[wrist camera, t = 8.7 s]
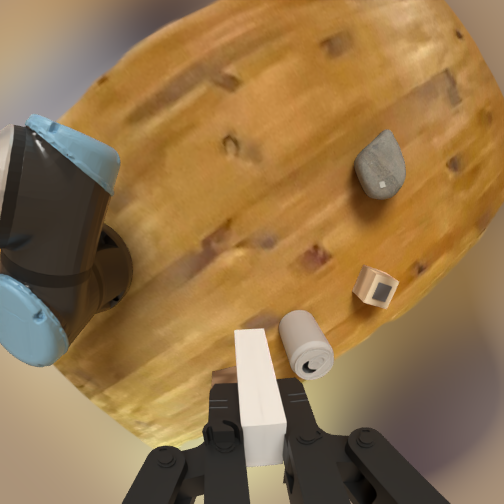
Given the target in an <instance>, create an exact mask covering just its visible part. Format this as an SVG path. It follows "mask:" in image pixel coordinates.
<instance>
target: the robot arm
mask: <svg viewBox="0 0 504 504" xmlns="http://www.w3.org/2000/svg"><path fill="white" fill-rule="evenodd" d="M25 125H26V127H21V126H16V125H12V124H9V125H8V126H6V127H5V128H4V129H2V130H1V131H0V249H1V253H0V343H1V345H2V346H3V347H4V348H5V349H6V350H7V351H8V352H9V353H10V354H12V355H13V356H14V357H16V358H17V359H19V360H20V361H22V362H24V363H26V364H28V365H31V366H35V367H44V366H50V365H52V364H53V363H55V362H56V361H57V360H58V359H59V358H60V357H61V356H62V355H64V354H65V353H66V352H67V350H68V347H69V346H70V345H71V343H72V342H73V341H74V339H75V338H76V337H77V336H78V334H79V333H80V332H81V331H82V329H83V328H84V327H85V325H86V324H87V323H88V322H89V320H90V319H91V318H92V317H93V316H94V314H97V313H100V312H103V311H106V310H108V309H111V308H112V307H114V306H115V305H116V304H118V303H119V302H120V301H121V299H122V298H123V297H124V295H125V294H126V293H127V291H128V289H129V287H130V284H131V281H132V273H133V269H132V260H131V256H130V253H129V251H128V248H127V246H126V244H125V243H124V241H123V240H122V238H121V237H120V236H119V235H118V234H117V233H116V232H115V231H114V230H113V229H112V228H110V227H109V226H107V225H105V224H103V223H104V219H105V216H106V212H107V209H108V205H109V202H110V199H111V196H112V197H113V195H114V190H113V189H114V185H115V182H116V178H117V175H118V172H119V168H120V157H119V155H118V153H117V152H116V150H115V149H113V148H112V147H110V146H108V145H106V144H104V143H102V142H100V141H98V140H96V139H94V138H91V137H89V136H87V135H85V134H83V133H80V132H78V131H76V130H74V129H71V128H69V127H67V126H64V125H61V124H59V123H57V122H54V121H52V120H50V119H48V118H45V117H43V116H40V115H37V114H32V115H31V116H30V117H29V119H28V120H26V123H25ZM234 332H235V350H236V368H237V383H218V384H214V386H213V387H212V389H211V390H210V397H209V420H208V423H207V424H206V425H205V426H204V428H203V431H202V432H203V437H204V442H203V443H202V444H201V445H199V446H198V447H196V448H192V449H188V450H184V451H180V450H179V449H178V448H175V447H173V446H161V447H157V448H155V449H153V450H152V451H151V452H150V453H149V455H148V456H147V458H146V460H145V462H144V464H143V466H142V467H141V469H140V471H139V473H138V475H137V476H136V478H135V480H134V482H133V484H132V486H131V488H130V489H129V491H128V493H127V495H126V497H125V498H124V500H123V502H122V504H194V502H195V499H196V496H199V495H203V494H204V504H250V499H249V489H248V479H247V470H246V467H254V466H267V465H276V464H283V460H284V465H285V473H284V481H283V483H286V485H287V490H288V495H289V500H290V504H351V503H350V501H351V502H352V503H353V504H450V503H449V502H448V501H447V500H446V499H445V498H444V497H443V496H442V495H441V494H440V493H439V492H438V491H437V490H436V489H435V488H434V487H433V486H432V485H431V484H430V483H429V482H428V481H427V480H426V479H425V478H424V477H423V476H422V475H421V474H420V473H419V472H418V471H417V470H416V469H415V468H414V467H413V466H412V465H411V464H410V463H409V462H408V461H407V460H406V459H405V458H404V457H403V456H402V455H401V454H400V453H399V452H398V451H397V450H396V449H395V448H394V447H393V446H392V445H391V444H390V443H389V442H388V441H387V440H386V439H385V438H384V437H383V436H382V434H380V433H379V432H378V431H377V430H375V429H372V428H359V429H356V430H354V431H353V432H352V433H351V434H350V435H349V436H341V435H331V434H328V433H326V432H324V431H323V430H322V429H320V428H319V427H318V425H317V423H316V421H315V418H314V415H313V412H312V409H311V406H310V404H309V401H308V398H307V395H306V393H305V390H304V387H303V384H302V383H301V382H300V381H299V380H298V379H297V378H285V379H276V377H275V373H274V369H273V365H272V360H271V356H270V352H269V348H268V344H267V340H266V336H265V332H264V329H247V330H234ZM349 499H350V500H349Z"/></svg>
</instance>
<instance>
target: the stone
mask: <svg viewBox="0 0 504 504" xmlns="http://www.w3.org/2000/svg"><path fill="white" fill-rule="evenodd" d="M354 168H355V171H356V174H357V177H358V179H359V182H360V184H361V186H362V188H363V190H364V192H365V193H366V195H367V196H369V197H370V198H374V199H381V200H383V199H387V198H391V197H393V196H394V195H395V194H396V193H397V192H398V191H399V189H400V188H401V187H402V185H403V183H404V180H405V176H406V169H405V161H404V158H403V156H402V153H401V149H400V147H399V145H398V143H397V141H396V139H395V138H394V135H393V133H392V132H391V131H390V130H384V131H382V132H381V133H380V134H379V135H378V136H377V137H376V138H375V139H374V140H373V141H372V142H371V143H370V144H369V145H368V146H366V147H365V148H364V149H363V150H362V151H361V152H360V153H359V154H358V155H357V157H356V159H355V162H354Z"/></svg>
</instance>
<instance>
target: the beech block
mask: <svg viewBox="0 0 504 504" xmlns="http://www.w3.org/2000/svg"><path fill="white" fill-rule="evenodd" d="M398 284H399V281H397V280H396V279H394V278H393V277H391V276H390V275H388V274H387V273H386V272H383V271H380V270H377V269H375V268H372V267H369V266H366V265H363V267H362V269H361V272H360V274H359V276H358V279H357V281H356V283H355V285H354V288H353V290H352V291H353V292H354V293H355V294H356V295H357V296H358V297H359V298H360V299H361V300H362V301H363V302H364V303H367V304H371V305H374V306H378V307H381V308H385V309H387V307H388V305H389V303H390V301H391V299H392V297H393V295H394V292H395V290H396V288H397V286H398Z"/></svg>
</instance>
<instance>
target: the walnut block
mask: <svg viewBox="0 0 504 504" xmlns="http://www.w3.org/2000/svg"><path fill="white" fill-rule="evenodd" d="M218 383H237V368H236V366H233V367H229V368H226V369H221V370H217V371H213V372H212V387H213V386H214V384H218Z"/></svg>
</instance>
